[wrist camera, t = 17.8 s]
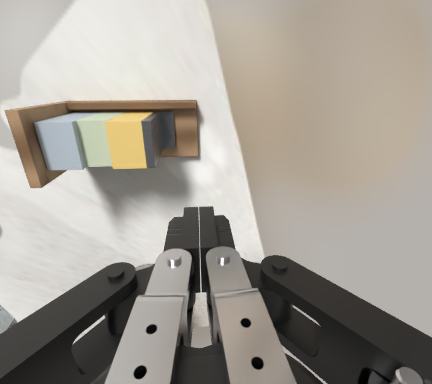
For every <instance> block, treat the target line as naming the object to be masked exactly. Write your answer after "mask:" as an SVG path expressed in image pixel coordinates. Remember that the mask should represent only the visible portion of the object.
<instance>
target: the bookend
mask: <svg viewBox="0 0 432 384" xmlns="http://www.w3.org/2000/svg"><path fill="white" fill-rule="evenodd" d="M141 124H142V133H143V141H144V149H145V157H146V165H147V168H155V167H156V165H157V163H158V161H159V159H160V157H161V155H162V152H163V150H164V149H171V148H176V141H175V127H174V112H173V111H154V112H153V113H152V114H150V115H149V116H147V117H146V118H145V119H143V120H142V121H141Z"/></svg>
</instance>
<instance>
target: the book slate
mask: <svg viewBox="0 0 432 384" xmlns="http://www.w3.org/2000/svg"><path fill="white" fill-rule="evenodd" d="M98 113H101V112H73V113H69V114H65V115H62V116H58V117H54V118H50V119H46V120H42V121H38V122H34V126H35V129H36V132H37V136H38V139H39V143H40V146H41V149H42V153H43V156H44V160H45V163H46V166H47V170H83V169H84V168H85V167H86V164H85V160H84V155H83V151H82V146H81V142H80V138H79V133H78V129H77V124H76V120H79V119H83V118H86V117H89V116H92V115H95V114H98Z"/></svg>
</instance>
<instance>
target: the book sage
mask: <svg viewBox="0 0 432 384" xmlns="http://www.w3.org/2000/svg"><path fill="white" fill-rule="evenodd" d="M124 113H126V112H101V113H98V114H95V115H92V116H89V117H86V118H83V119H79V120H76V124H77V129H78V133H79V138H80V142H81V146H82V151H83V155H84V160H85V164H86V167H105V166H112V161H111V155H110V150H109V144H108V139H107V133H106V128H105V121H108V120H110V119H112V118H115V117H117V116H119V115H121V114H124Z"/></svg>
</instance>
